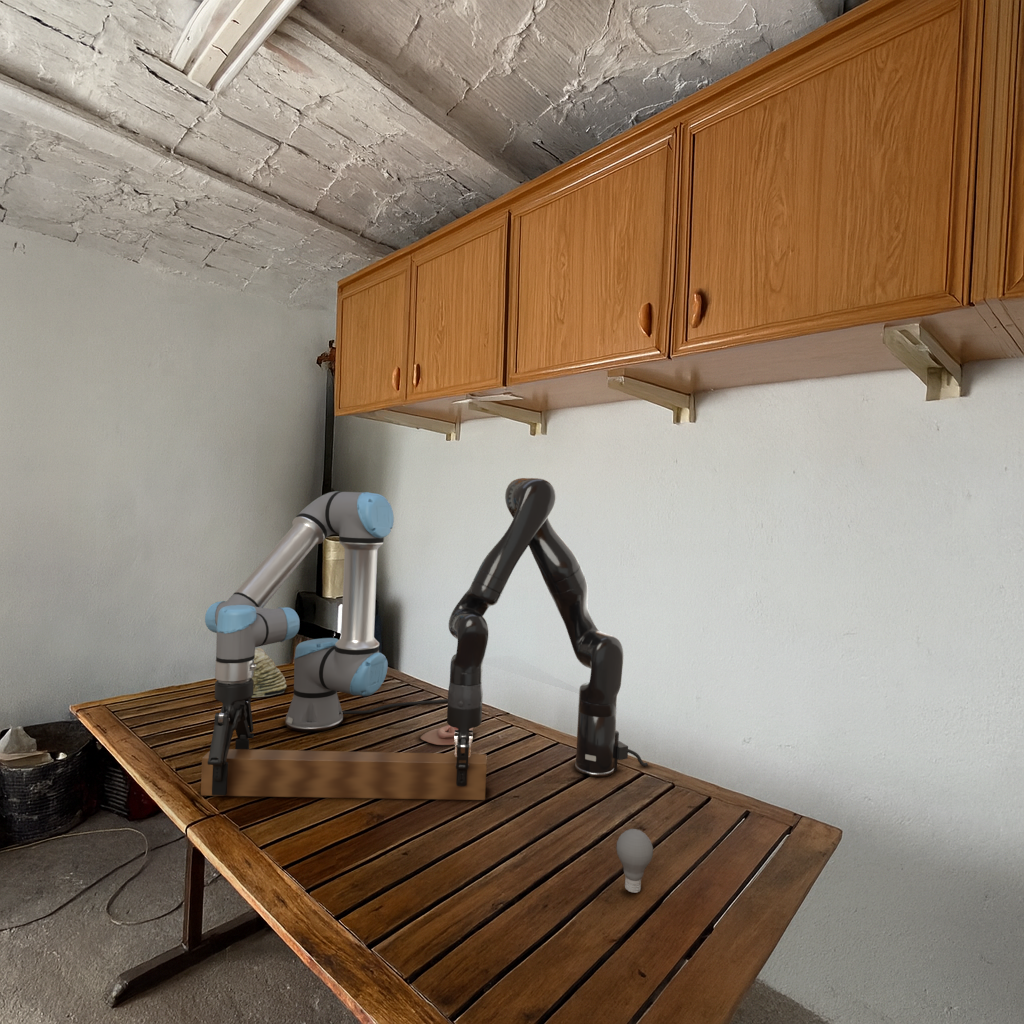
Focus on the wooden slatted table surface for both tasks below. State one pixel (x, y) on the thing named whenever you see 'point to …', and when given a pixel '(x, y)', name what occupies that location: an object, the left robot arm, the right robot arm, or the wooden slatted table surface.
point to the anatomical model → (441, 735)
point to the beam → (347, 775)
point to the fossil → (266, 676)
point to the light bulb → (634, 857)
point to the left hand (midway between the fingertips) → (230, 781)
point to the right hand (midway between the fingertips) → (461, 779)
